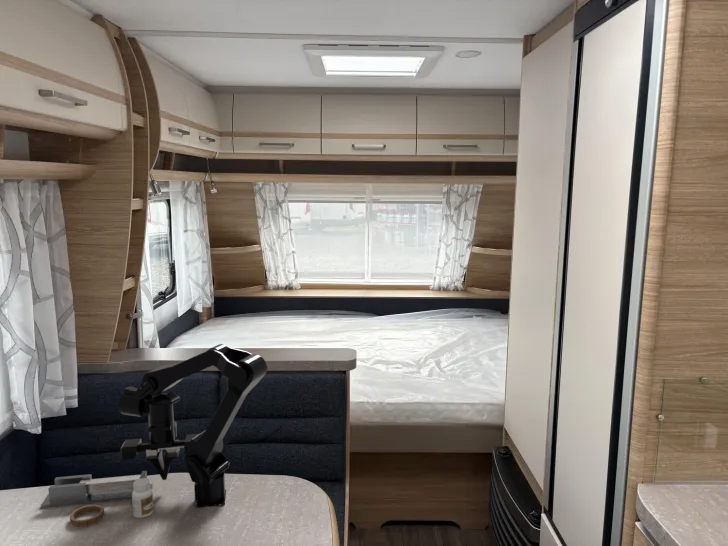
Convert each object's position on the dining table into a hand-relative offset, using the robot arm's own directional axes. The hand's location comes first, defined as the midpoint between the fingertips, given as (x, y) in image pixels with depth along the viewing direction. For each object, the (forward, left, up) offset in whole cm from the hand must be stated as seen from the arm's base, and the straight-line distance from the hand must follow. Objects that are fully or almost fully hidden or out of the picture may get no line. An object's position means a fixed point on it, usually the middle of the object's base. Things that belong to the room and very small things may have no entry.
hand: (164, 479), depth 142 cm
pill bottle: (+3, +10, -3) cm, 11 cm away
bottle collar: (+15, +10, -3) cm, 18 cm away
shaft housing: (+15, 0, -3) cm, 16 cm away
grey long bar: (+12, 0, -2) cm, 12 cm away
